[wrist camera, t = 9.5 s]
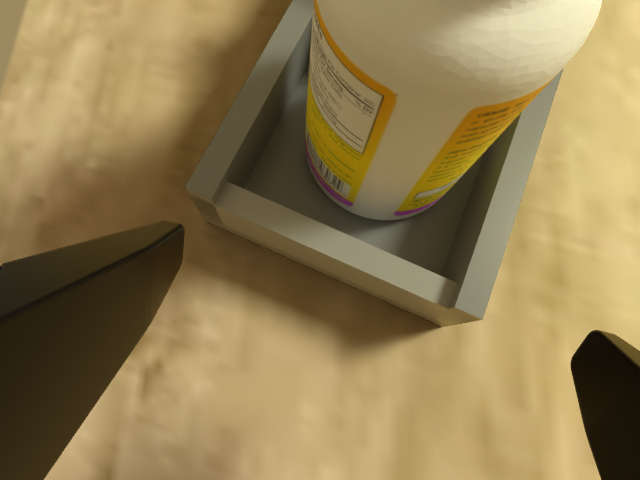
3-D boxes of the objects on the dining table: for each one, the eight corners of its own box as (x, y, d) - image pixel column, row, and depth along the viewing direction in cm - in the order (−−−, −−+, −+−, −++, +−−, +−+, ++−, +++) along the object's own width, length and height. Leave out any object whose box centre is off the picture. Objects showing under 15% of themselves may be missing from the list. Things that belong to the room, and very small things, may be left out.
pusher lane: (442, 326, 18) (532, 310, 11) (205, 220, 18) (159, 145, 12) (551, 12, 23) (659, -128, 16) (362, -66, 23) (391, -232, 17)
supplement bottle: (464, 110, 20) (761, -306, 7) (437, 243, 18) (772, -11, 6) (325, 71, 20) (387, -409, 7) (284, 200, 18) (275, -149, 6)
